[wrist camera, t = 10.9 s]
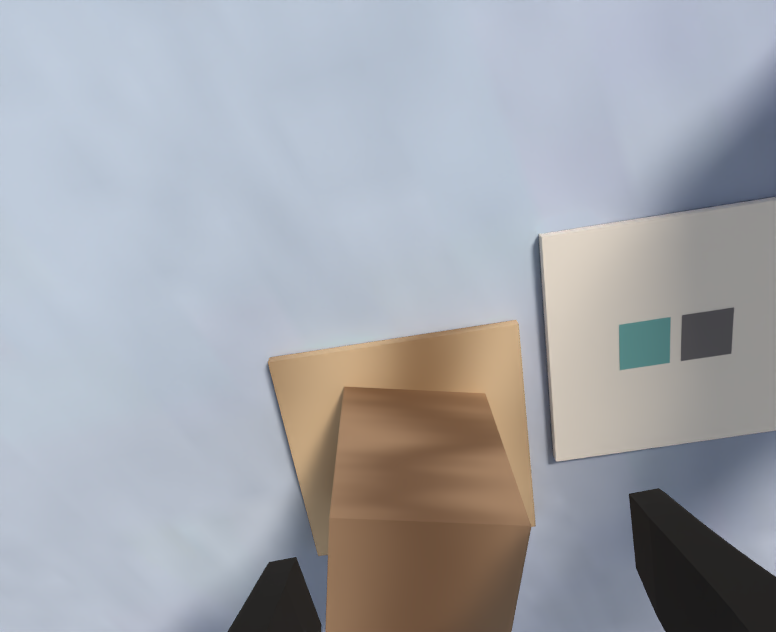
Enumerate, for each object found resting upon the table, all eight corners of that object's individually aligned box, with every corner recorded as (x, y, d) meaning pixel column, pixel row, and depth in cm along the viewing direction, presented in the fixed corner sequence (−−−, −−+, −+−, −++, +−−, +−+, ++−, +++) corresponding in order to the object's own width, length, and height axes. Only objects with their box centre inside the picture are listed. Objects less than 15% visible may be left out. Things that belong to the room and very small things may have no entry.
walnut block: (485, 393, 22) (531, 525, 15) (469, 507, 24) (504, 668, 17) (343, 386, 22) (329, 517, 15) (339, 502, 23) (324, 663, 17)
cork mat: (516, 319, 21) (518, 324, 21) (533, 519, 24) (535, 526, 24) (269, 357, 22) (267, 362, 21) (319, 548, 25) (318, 556, 24)
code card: (809, 191, 20) (818, 193, 19) (785, 422, 23) (792, 428, 23) (538, 234, 20) (541, 237, 20) (553, 455, 23) (556, 461, 23)
